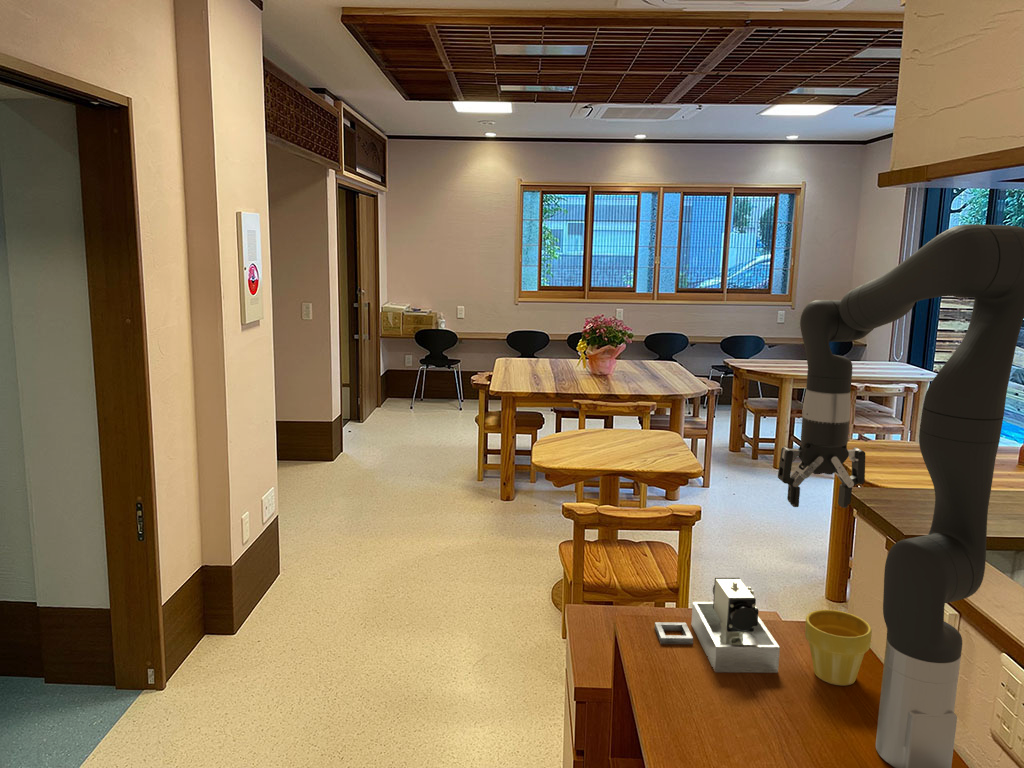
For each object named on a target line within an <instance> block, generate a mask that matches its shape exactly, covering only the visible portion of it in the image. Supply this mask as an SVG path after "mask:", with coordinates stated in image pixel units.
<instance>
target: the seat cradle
mask: <svg viewBox="0 0 1024 768" xmlns="http://www.w3.org/2000/svg"><path fill="white" fill-rule="evenodd" d="M691 605H692V607H691V609H692V610H691V623H690V625H691V627H692V629H693V631H694V633H695V636H696V637H697V639H698V641H699V644H700V645H701V647H702V649H703V651H704V653H705V655H706V657H707V656H708V657H707V659H708V662H709V663H710V666H711V667H713V668H712V670H713V669H714V670H713V671H715V672H714V673H750V674H751V673H755V674H756V673H758V674H759V673H760V674H762V673H763V674H764V673H766V674H768V673H769V674H772V673H773V674H774V673H775V674H777V673H779V664H780V653H781V652H780V649H781V648H780V645H779V643H778V642H777V641H776V640H775V638H774V637H773V635H772V634H771V632H770V630H768V628H767V627H766V625H765V624H764V621H762V619H761V618H760V616H759V615H758V625H757V626H754V631H753V632H744V634H743V642H742V643H743V645H724V644H723V642H722V641H721V639H720V637H719V636H720V635H721V626H720V623H721V620H720V618H719V617H718V615H717V614H716V612H715V610H714V609H713V601H692V604H691Z"/></svg>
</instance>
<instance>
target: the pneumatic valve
mask: <svg viewBox="0 0 1024 768" xmlns="http://www.w3.org/2000/svg"><path fill="white" fill-rule="evenodd" d="M713 583H714V584H713V586H712V594H713V599H712V600H713V601H712V602H713V609H714V610H715V612H716V614H717V615H718V617H719V618H720V620H721V623H720V626H721V635H720V636H719V637H720V639H721V641H722V642H723V644H724V645H743V643H742V642H743V634H744V632H753V631H754V626H757V625H758V616H759V609H758V607H757V605H756V602H757V598H755V596H754V595H755V594H754V592H755V591H754V589H752V587H751V586H746V584H745V583H744V582H743V581H742V579H740V577H715V578H714V582H713Z"/></svg>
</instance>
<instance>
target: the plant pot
mask: <svg viewBox="0 0 1024 768" xmlns="http://www.w3.org/2000/svg"><path fill="white" fill-rule="evenodd" d="M804 627H805V628H804V630H805V631H804V635H805V639H806V640H807V642H808V644H809V648H810V649H809V650H810V655H811V660H812V667H813V673H814V674H815V675H816V677H817V678H818V679H820V680H822V681H823V682H826V683H828V684H831V685H835V686H843V687H844V686H850V685H853V684H854V683H855V681H856V680H857V678H858V674H859V671H860V668H861V665H862V662H863V659H864V656H865V653H867V652H868V651H869V650H870V648H871V643H872V634H873V633H872V627H871V625H870V624H869V623H868V622H867V621H866V620H864V618H861V617H860V616H857V615H856V614H852V613H849V612H845V611H842V610H836V609H818V610H813V611H811V612H809V613H808V614H807V615H806V617H805V624H804Z"/></svg>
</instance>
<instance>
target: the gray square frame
mask: <svg viewBox="0 0 1024 768" xmlns="http://www.w3.org/2000/svg"><path fill="white" fill-rule="evenodd" d="M654 630H655V632H656V636H657V638H658V640H659V643H660V645H694V637H693V635H692V632H691V631H690V629H689V627H688V624H687V623H686V622H681V621H680V622H676V621H675V622H674V621H673V622H669V621H668V622H664V621H663V622H661V621H657V622H654ZM668 631H671V632H673V631H675V632H677V631H679V632H681V633H682V634H681V635H678V634H677V635H671V634H669V635H667V634H666V633H665V632H668Z"/></svg>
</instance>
